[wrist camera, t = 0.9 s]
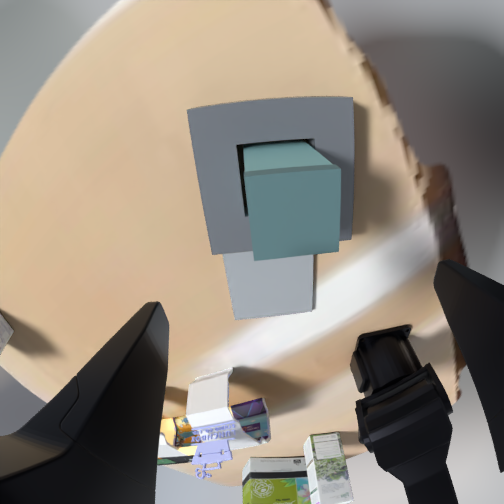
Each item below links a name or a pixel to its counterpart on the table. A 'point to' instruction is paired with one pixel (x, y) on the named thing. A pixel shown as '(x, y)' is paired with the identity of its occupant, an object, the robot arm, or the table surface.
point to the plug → (291, 200)
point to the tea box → (275, 481)
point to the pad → (269, 285)
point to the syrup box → (327, 470)
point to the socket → (262, 130)
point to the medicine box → (4, 333)
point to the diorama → (214, 424)
